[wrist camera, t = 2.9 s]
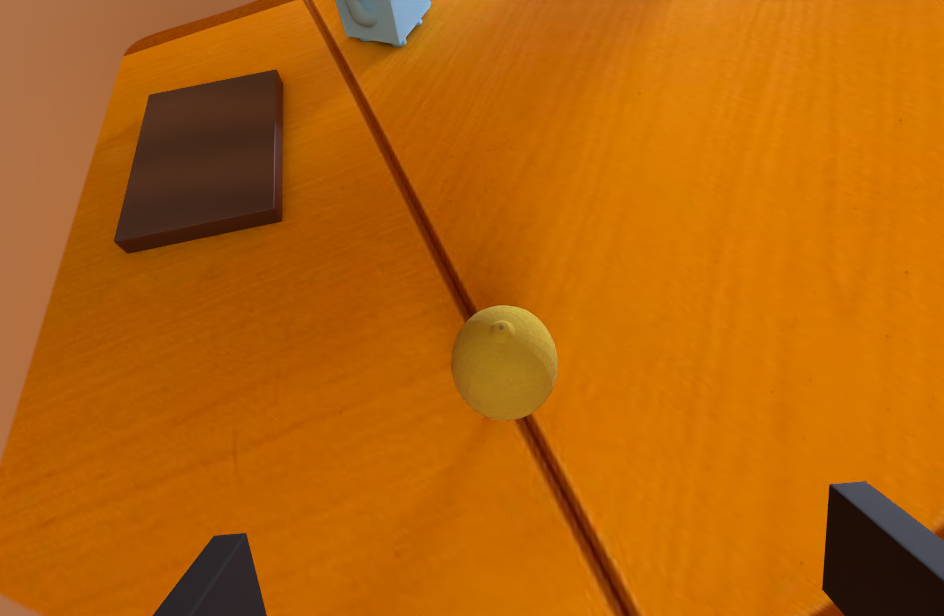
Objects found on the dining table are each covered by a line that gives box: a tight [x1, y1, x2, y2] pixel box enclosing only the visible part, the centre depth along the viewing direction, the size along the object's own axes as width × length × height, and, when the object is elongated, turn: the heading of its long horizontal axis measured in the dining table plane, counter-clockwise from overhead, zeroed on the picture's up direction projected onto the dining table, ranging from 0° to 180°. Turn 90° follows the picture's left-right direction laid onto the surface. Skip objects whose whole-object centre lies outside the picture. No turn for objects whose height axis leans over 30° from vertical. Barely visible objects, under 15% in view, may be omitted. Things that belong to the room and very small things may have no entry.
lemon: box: [451, 305, 558, 421], centre depth 26 cm, size 6×6×8 cm
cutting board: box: [114, 70, 283, 253], centre depth 42 cm, size 18×12×2 cm, turn 11°
